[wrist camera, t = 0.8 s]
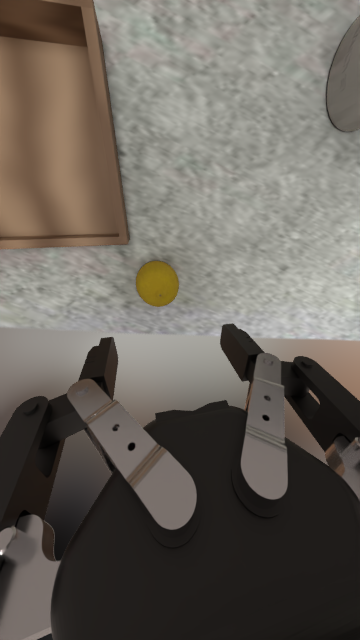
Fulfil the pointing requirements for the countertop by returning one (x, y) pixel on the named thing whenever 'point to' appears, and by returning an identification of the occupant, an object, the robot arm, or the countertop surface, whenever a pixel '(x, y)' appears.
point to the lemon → (157, 283)
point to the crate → (56, 129)
